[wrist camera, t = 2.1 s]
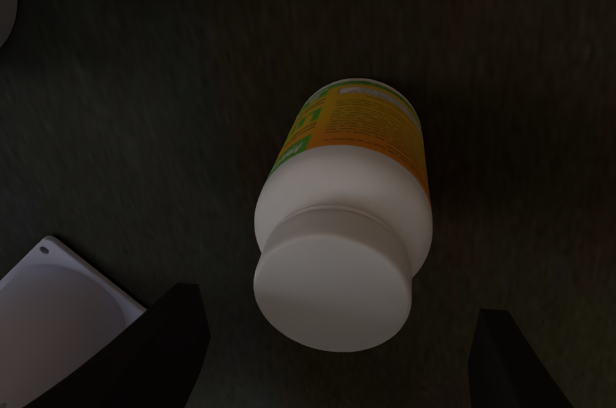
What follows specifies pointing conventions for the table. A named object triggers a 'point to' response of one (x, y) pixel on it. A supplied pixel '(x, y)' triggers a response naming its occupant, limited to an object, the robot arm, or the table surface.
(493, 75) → the table surface
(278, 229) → the supplement bottle
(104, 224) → the table surface
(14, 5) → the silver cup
